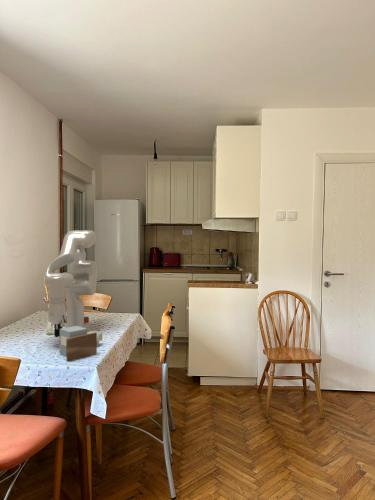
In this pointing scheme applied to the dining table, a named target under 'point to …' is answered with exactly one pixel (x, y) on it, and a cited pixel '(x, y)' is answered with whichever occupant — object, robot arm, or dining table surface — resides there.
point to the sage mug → (99, 336)
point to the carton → (86, 319)
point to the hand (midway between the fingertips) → (58, 336)
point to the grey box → (69, 336)
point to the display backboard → (81, 346)
